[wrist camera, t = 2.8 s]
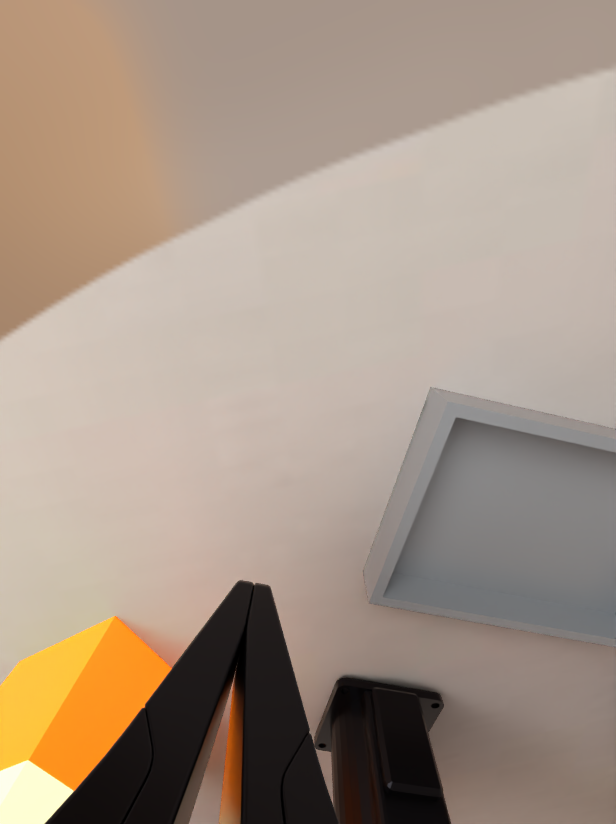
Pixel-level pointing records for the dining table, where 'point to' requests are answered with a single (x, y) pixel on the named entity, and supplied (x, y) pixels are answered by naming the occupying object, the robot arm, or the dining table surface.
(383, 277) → the dining table surface
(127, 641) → the orange juice
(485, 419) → the grey open tray
